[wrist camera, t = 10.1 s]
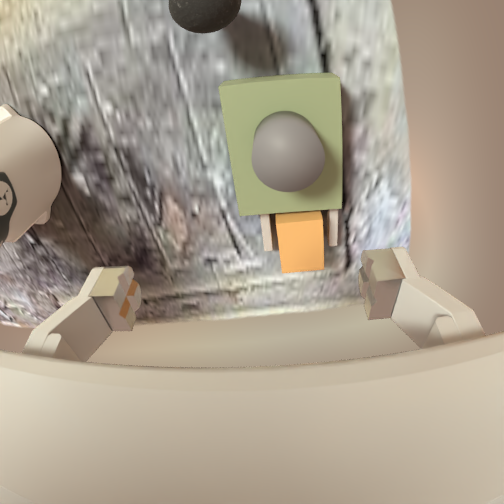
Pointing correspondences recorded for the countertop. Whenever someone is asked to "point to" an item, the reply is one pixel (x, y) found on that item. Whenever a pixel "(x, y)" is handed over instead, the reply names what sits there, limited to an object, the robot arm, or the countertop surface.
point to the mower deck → (272, 99)
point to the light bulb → (204, 14)
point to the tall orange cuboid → (300, 240)
